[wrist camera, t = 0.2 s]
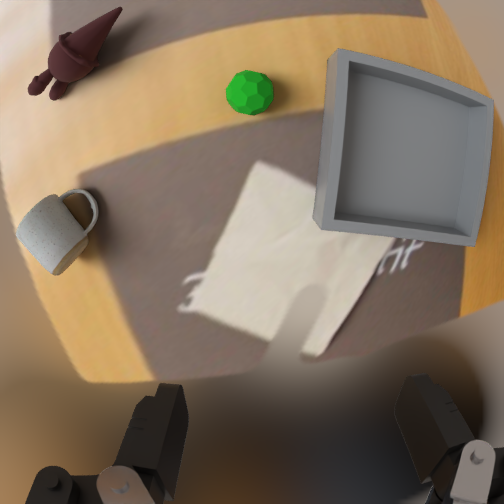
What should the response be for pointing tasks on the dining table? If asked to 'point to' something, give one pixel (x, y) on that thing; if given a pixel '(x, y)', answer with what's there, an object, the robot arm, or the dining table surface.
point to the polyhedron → (250, 92)
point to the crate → (401, 152)
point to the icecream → (74, 56)
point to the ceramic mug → (55, 232)
